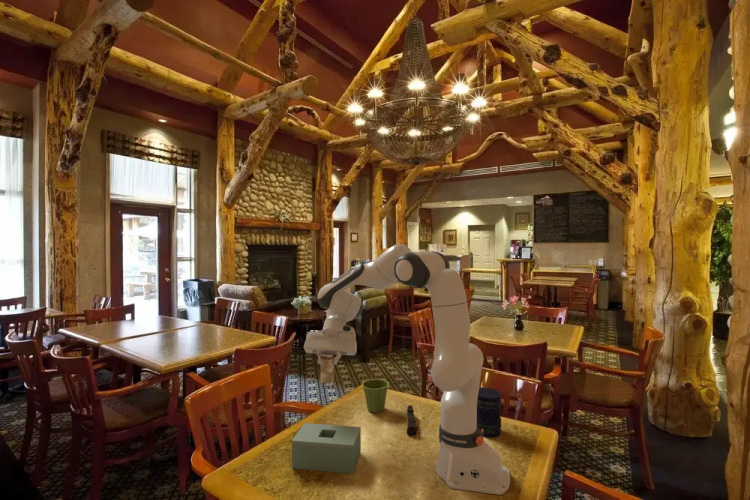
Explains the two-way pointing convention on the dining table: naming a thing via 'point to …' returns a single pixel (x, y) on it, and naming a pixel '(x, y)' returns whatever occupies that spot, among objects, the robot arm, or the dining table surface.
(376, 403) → the plant pot
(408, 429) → the hand tool
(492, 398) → the storage jar
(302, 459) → the box with square hole
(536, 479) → the dining table surface
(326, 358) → the wooden block
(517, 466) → the dining table surface
